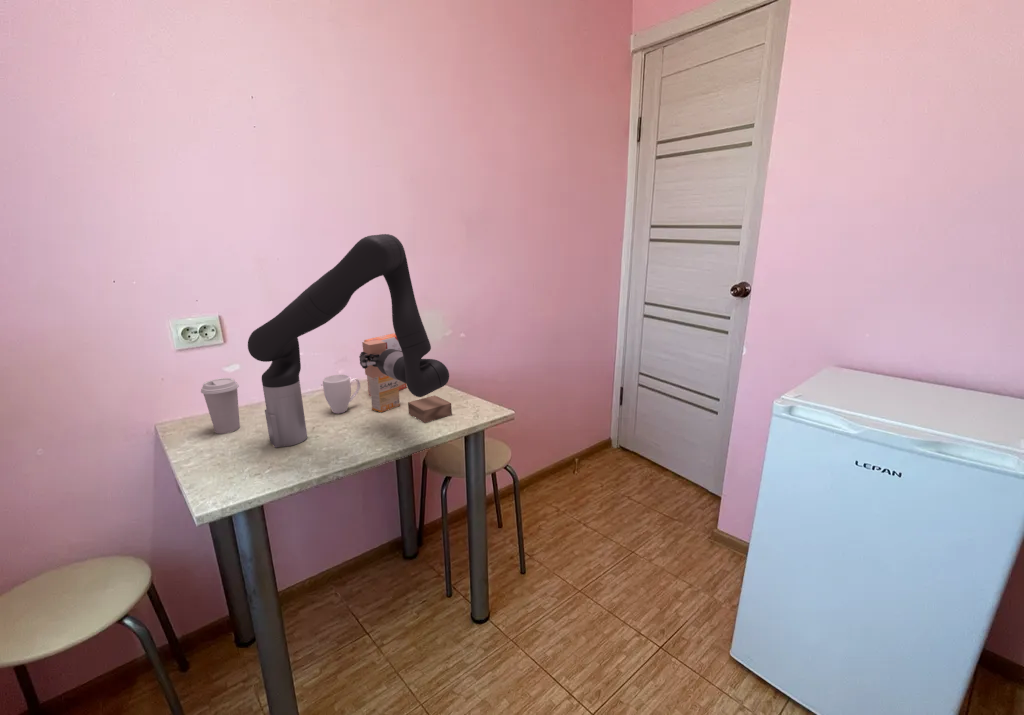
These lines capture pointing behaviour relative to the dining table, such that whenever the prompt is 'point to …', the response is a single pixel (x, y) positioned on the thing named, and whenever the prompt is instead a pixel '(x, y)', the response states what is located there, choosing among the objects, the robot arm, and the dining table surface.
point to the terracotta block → (377, 348)
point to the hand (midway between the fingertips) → (371, 353)
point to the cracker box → (390, 344)
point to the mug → (339, 392)
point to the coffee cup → (222, 404)
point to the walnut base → (429, 408)
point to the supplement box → (384, 393)
